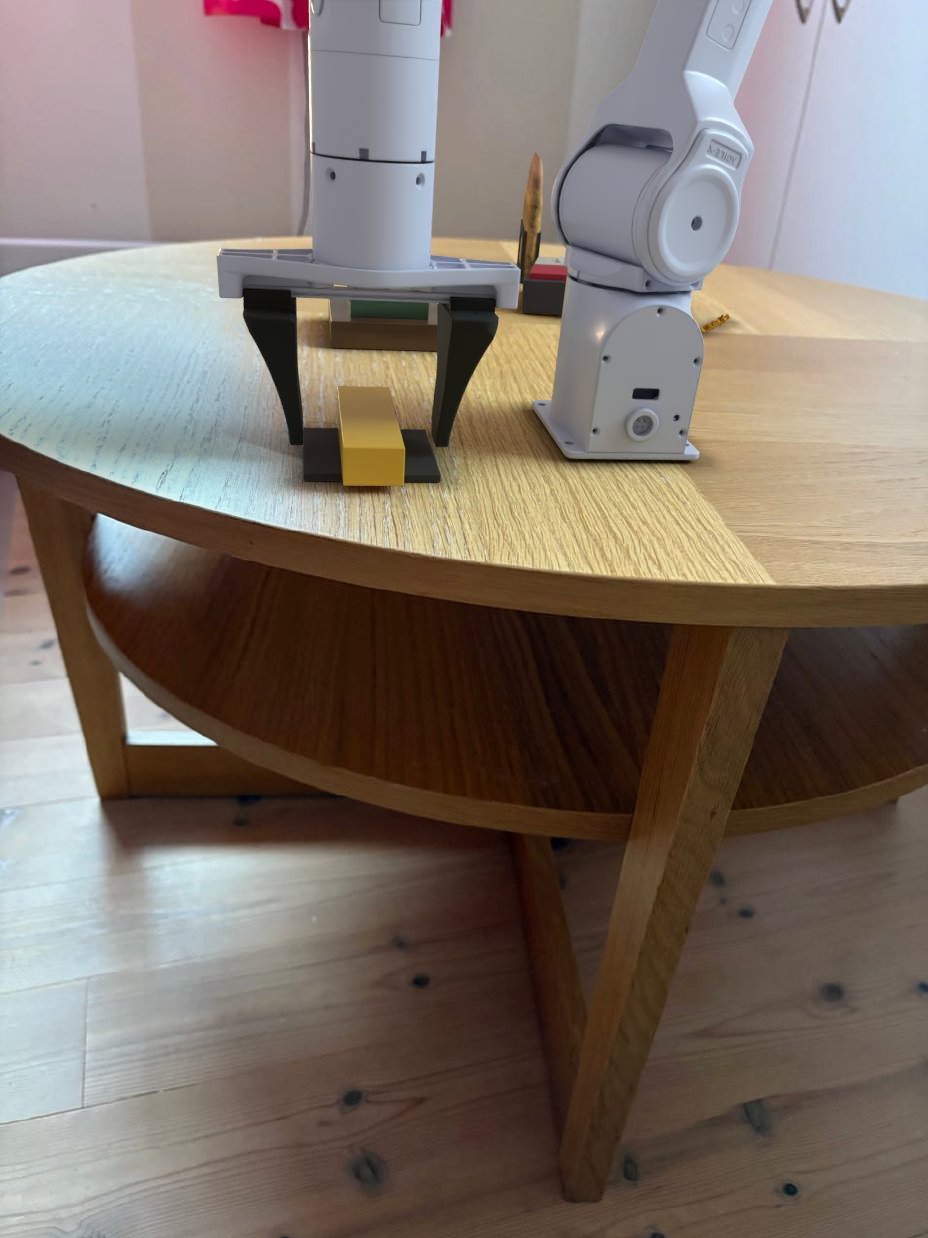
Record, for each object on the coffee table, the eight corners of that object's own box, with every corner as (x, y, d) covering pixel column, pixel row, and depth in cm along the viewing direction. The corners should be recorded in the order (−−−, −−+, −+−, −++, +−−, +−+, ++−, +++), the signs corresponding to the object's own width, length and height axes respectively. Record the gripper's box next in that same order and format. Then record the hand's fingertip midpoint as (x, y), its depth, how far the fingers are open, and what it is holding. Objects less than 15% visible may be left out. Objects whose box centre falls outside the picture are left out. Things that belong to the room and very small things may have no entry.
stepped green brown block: (448, 351, 68) (452, 297, 66) (331, 348, 67) (330, 292, 65) (434, 323, 76) (437, 274, 74) (328, 320, 75) (328, 269, 73)
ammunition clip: (516, 265, 104) (527, 150, 98) (532, 266, 104) (544, 151, 98) (518, 282, 95) (530, 157, 89) (535, 283, 95) (549, 158, 89)
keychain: (721, 321, 86) (723, 310, 85) (731, 323, 85) (734, 312, 85) (694, 334, 80) (696, 323, 79) (705, 336, 79) (707, 325, 79)
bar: (403, 486, 44) (405, 447, 43) (343, 486, 44) (343, 447, 43) (388, 420, 53) (389, 386, 52) (337, 419, 52) (336, 385, 51)
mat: (440, 482, 46) (440, 475, 46) (303, 481, 45) (303, 473, 45) (425, 435, 52) (425, 429, 52) (303, 433, 51) (303, 426, 50)
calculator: (533, 252, 90) (685, 259, 88) (531, 297, 92) (678, 304, 90) (522, 270, 80) (692, 278, 78) (520, 319, 82) (685, 328, 81)
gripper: (510, 160, 45) (488, 417, 52) (218, 140, 43) (236, 413, 50) (540, 173, 39) (511, 461, 46) (204, 151, 37) (226, 459, 44)
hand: (369, 440), depth 48 cm, fingers open, 7 cm apart
